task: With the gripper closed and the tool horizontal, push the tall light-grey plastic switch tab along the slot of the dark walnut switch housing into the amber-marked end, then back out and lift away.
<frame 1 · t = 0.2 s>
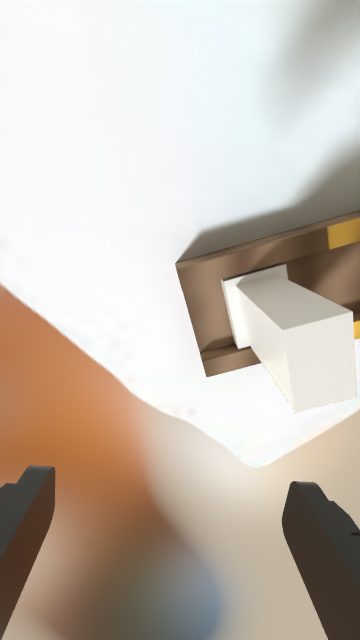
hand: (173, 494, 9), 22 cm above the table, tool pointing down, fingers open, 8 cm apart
switch tab: (279, 326, 22), point 9 cm above the table, slide at 0.0 cm
switch housing: (293, 286, 30), on the table
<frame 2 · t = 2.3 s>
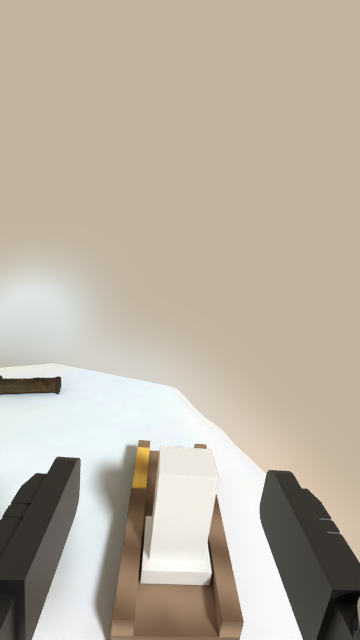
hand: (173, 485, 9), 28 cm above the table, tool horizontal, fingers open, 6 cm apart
switch tab: (180, 509, 30), point 9 cm above the table, slide at 0.0 cm
switch housing: (171, 526, 37), on the table
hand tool: (17, 395, 64), on the table
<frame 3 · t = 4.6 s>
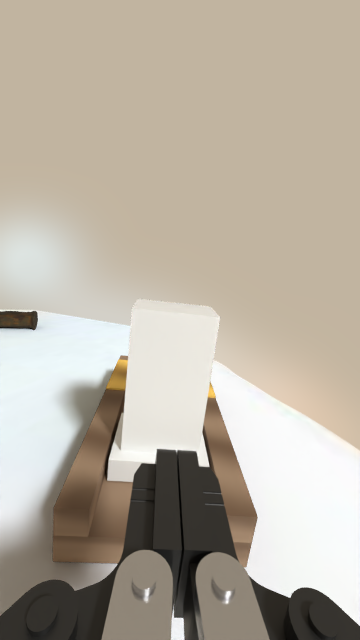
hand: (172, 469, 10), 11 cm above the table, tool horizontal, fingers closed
switch tab: (166, 385, 22), point 9 cm above the table, slide at 0.0 cm
switch housing: (157, 437, 28), on the table
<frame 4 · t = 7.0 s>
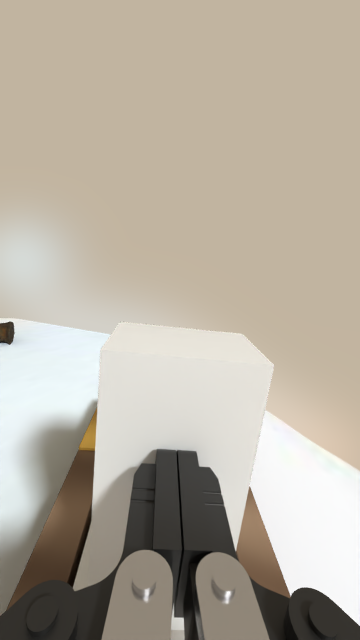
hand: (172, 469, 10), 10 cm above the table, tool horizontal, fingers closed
switch tab: (168, 471, 13), point 9 cm above the table, slide at 0.4 cm, touching gripper
switch housing: (155, 523, 19), on the table
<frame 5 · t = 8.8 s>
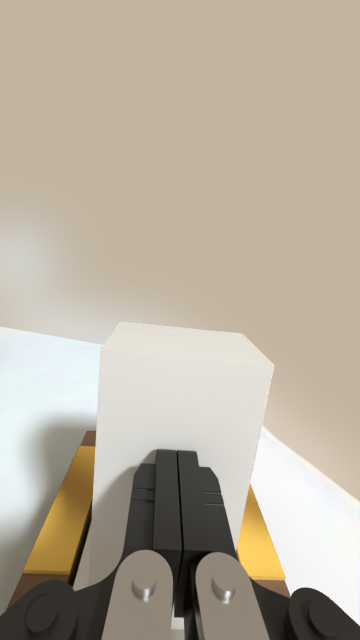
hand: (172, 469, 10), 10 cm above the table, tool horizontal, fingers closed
switch tab: (168, 471, 13), point 9 cm above the table, slide at 8.3 cm, touching gripper
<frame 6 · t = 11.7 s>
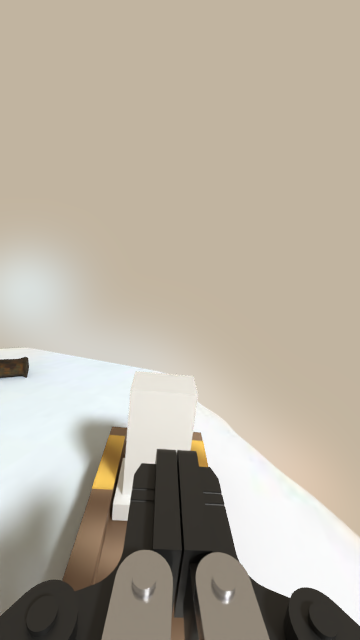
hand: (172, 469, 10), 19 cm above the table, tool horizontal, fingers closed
switch tab: (158, 441, 27), point 9 cm above the table, slide at 8.5 cm
switch housing: (149, 544, 25), on the table
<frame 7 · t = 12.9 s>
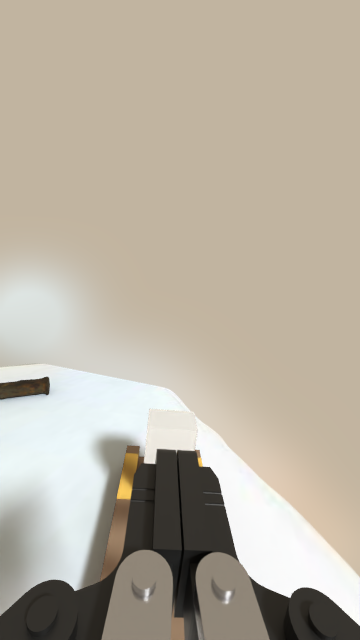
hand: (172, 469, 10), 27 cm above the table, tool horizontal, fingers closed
switch tab: (166, 462, 35), point 9 cm above the table, slide at 8.5 cm
switch housing: (159, 541, 34), on the table
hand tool: (2, 401, 60), on the table
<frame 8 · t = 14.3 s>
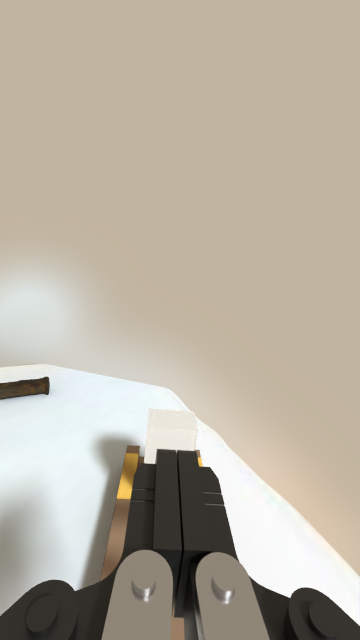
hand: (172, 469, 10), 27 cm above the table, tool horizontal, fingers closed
switch tab: (166, 462, 35), point 9 cm above the table, slide at 8.5 cm
switch housing: (159, 540, 34), on the table
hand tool: (2, 401, 60), on the table
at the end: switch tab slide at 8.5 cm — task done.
